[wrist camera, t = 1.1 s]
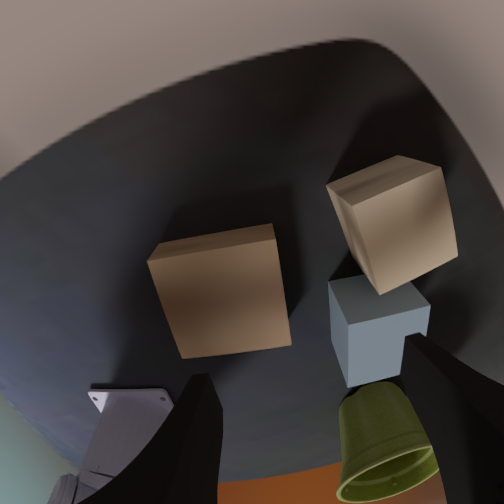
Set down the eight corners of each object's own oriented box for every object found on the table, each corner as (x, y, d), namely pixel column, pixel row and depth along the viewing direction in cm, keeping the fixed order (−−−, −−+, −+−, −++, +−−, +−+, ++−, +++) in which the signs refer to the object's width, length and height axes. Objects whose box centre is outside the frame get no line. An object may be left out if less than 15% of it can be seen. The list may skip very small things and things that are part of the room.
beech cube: (417, 226, 19) (457, 255, 14) (351, 256, 20) (379, 295, 15) (397, 154, 17) (441, 167, 13) (325, 184, 18) (351, 206, 13)
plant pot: (403, 420, 27) (429, 485, 19) (317, 438, 27) (330, 511, 19) (425, 357, 23) (469, 429, 15) (323, 376, 24) (346, 466, 16)
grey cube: (393, 325, 22) (419, 368, 17) (331, 339, 22) (347, 387, 18) (396, 267, 20) (430, 305, 16) (327, 280, 20) (348, 324, 16)
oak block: (286, 317, 22) (291, 345, 19) (189, 331, 22) (182, 358, 19) (271, 221, 19) (275, 239, 16) (160, 241, 19) (147, 261, 17)
